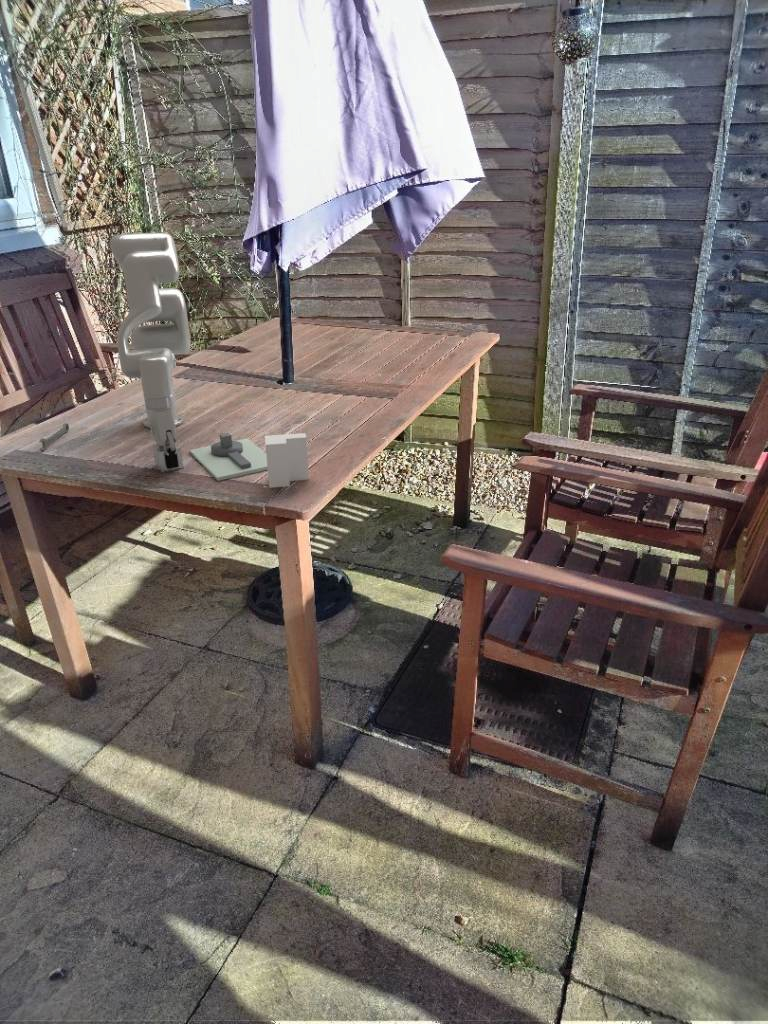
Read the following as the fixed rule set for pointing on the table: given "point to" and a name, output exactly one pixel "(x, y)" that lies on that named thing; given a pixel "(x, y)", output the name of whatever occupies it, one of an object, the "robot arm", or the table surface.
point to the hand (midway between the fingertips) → (169, 462)
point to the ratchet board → (231, 458)
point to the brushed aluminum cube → (160, 457)
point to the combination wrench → (54, 436)
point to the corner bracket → (286, 459)
